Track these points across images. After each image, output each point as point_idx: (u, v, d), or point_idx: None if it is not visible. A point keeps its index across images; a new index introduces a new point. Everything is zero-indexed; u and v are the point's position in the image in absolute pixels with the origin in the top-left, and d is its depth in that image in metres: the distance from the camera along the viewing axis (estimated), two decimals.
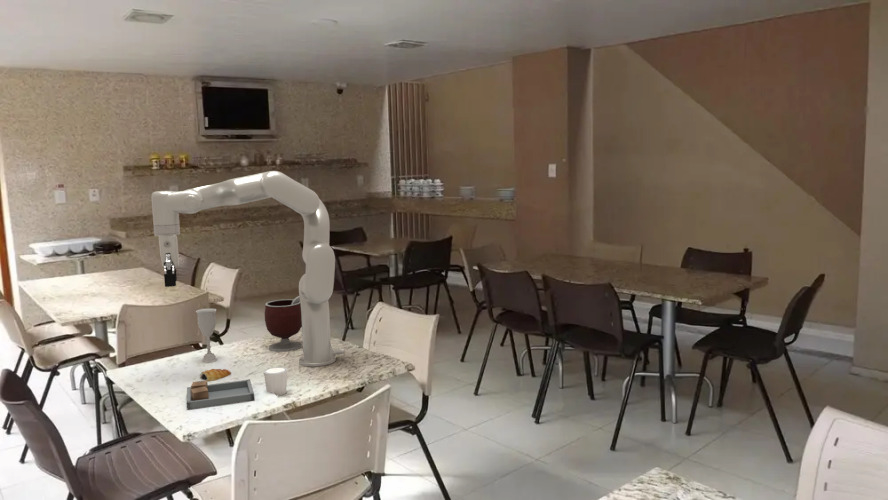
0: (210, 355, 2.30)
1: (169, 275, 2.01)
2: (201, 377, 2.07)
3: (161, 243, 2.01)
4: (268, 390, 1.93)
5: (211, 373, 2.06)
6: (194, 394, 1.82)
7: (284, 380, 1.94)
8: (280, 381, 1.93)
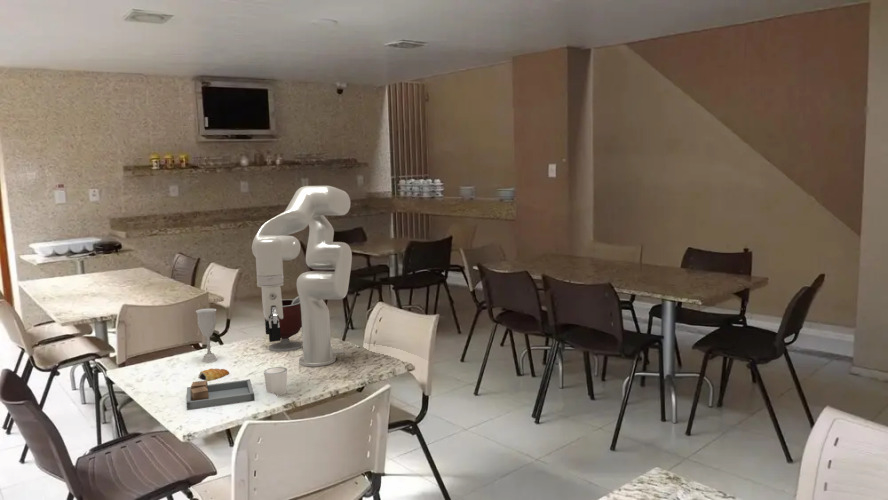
0: (210, 355, 2.30)
1: (274, 329, 1.87)
2: (200, 377, 2.08)
3: (266, 295, 1.87)
4: (268, 390, 1.93)
5: (210, 373, 2.07)
6: (194, 394, 1.82)
7: (284, 380, 1.94)
8: (280, 381, 1.93)
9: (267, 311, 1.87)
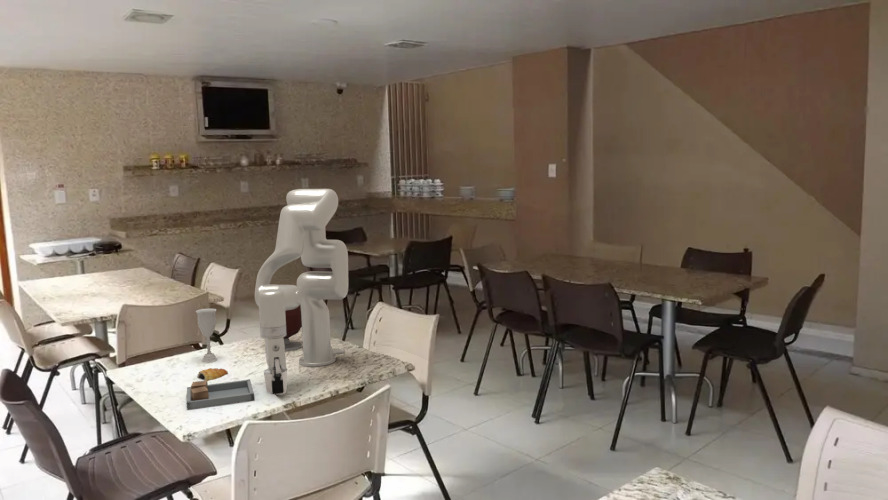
0: (210, 355, 2.30)
1: (277, 382, 1.91)
2: (198, 377, 2.08)
3: (269, 347, 1.89)
4: (268, 390, 1.93)
5: (209, 372, 2.07)
6: (194, 394, 1.82)
7: (284, 380, 1.94)
8: None
9: (270, 363, 1.89)
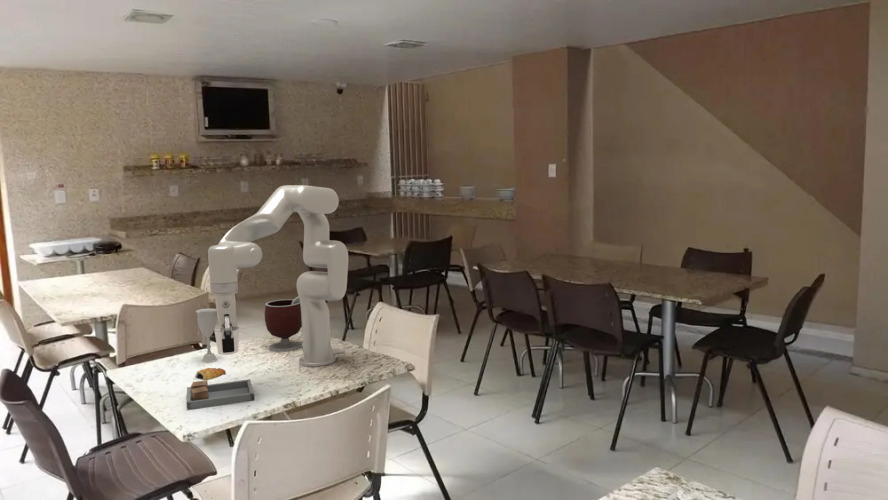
0: (210, 355, 2.30)
1: (227, 340, 1.85)
2: (197, 376, 2.08)
3: (219, 303, 1.83)
4: (218, 349, 1.87)
5: (207, 372, 2.07)
6: (194, 394, 1.82)
7: (235, 339, 1.87)
8: None
9: (220, 320, 1.83)
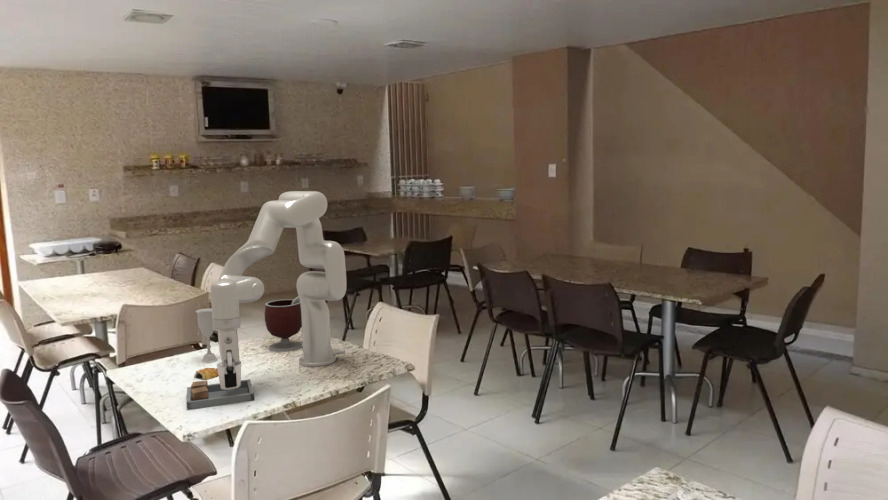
0: (210, 355, 2.30)
1: (230, 375, 1.86)
2: (196, 376, 2.08)
3: (221, 339, 1.84)
4: (221, 384, 1.88)
5: (206, 372, 2.08)
6: (194, 394, 1.82)
7: (238, 373, 1.89)
8: None
9: (222, 355, 1.84)
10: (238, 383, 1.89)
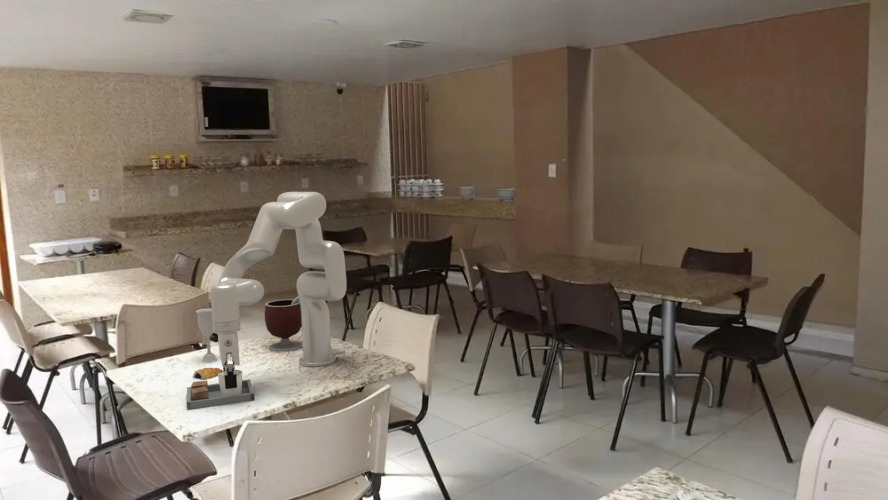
0: (210, 355, 2.30)
1: (230, 377, 1.85)
2: (194, 376, 2.08)
3: (221, 342, 1.84)
4: (222, 393, 1.88)
5: (205, 372, 2.08)
6: (194, 394, 1.82)
7: (238, 383, 1.89)
8: None
9: (223, 358, 1.84)
10: (239, 393, 1.89)
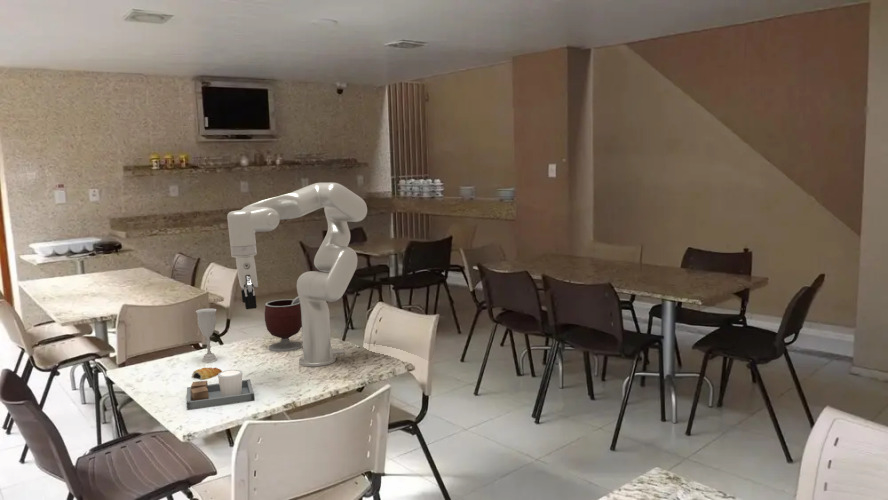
0: (210, 355, 2.30)
1: (250, 297, 1.96)
2: (193, 376, 2.08)
3: (240, 265, 1.95)
4: (222, 393, 1.88)
5: (204, 372, 2.08)
6: (194, 394, 1.82)
7: (238, 383, 1.89)
8: (234, 385, 1.88)
9: (242, 280, 1.95)
10: (239, 393, 1.89)
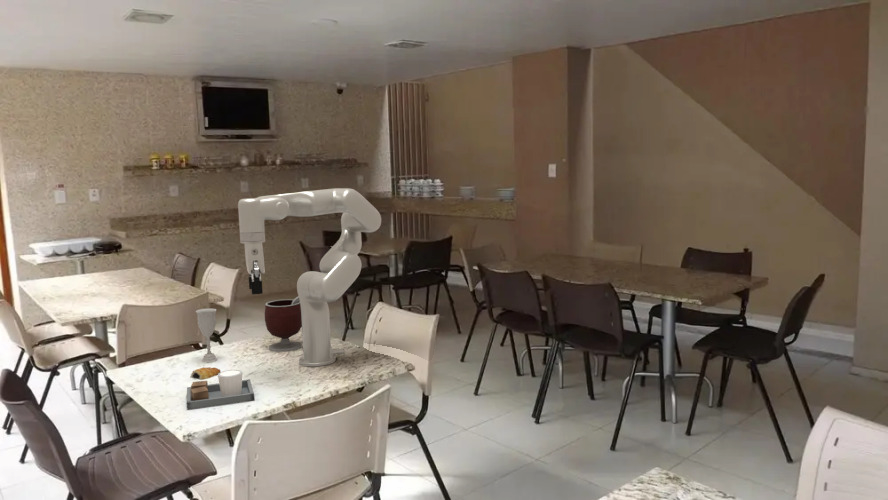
0: (210, 355, 2.30)
1: (256, 283, 2.01)
2: (192, 376, 2.08)
3: (248, 251, 2.01)
4: (222, 393, 1.88)
5: (203, 371, 2.08)
6: (194, 394, 1.82)
7: (238, 383, 1.89)
8: (234, 385, 1.88)
9: (249, 265, 2.01)
10: (239, 393, 1.89)
